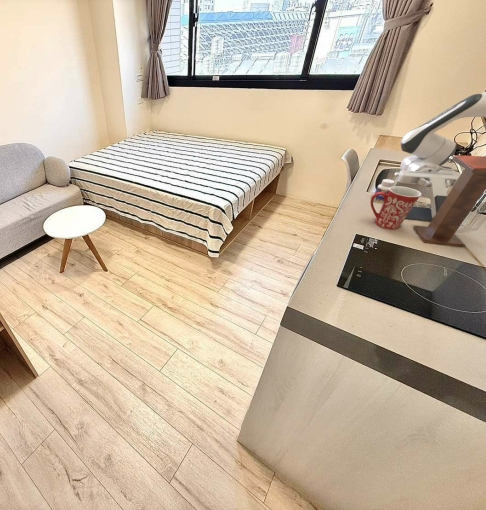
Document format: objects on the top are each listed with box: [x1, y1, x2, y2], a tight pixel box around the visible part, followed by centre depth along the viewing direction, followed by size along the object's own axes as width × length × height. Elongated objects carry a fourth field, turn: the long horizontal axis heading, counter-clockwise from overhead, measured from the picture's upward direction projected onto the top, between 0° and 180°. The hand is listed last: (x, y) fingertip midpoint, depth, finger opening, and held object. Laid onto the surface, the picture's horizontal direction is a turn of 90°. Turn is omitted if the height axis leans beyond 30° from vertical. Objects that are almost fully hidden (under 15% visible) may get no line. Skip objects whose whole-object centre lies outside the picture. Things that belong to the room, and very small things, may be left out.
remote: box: [428, 177, 448, 218], centre depth 103 cm, size 4×18×3 cm, turn 158°
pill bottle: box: [373, 178, 395, 204], centre depth 117 cm, size 5×5×9 cm
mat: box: [404, 205, 433, 223], centre depth 109 cm, size 12×12×1 cm
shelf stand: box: [412, 154, 486, 248], centre depth 88 cm, size 10×12×26 cm
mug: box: [370, 185, 422, 230], centre depth 101 cm, size 13×9×14 cm
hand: (437, 185), depth 105 cm, fingers closed on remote, 4 cm apart
